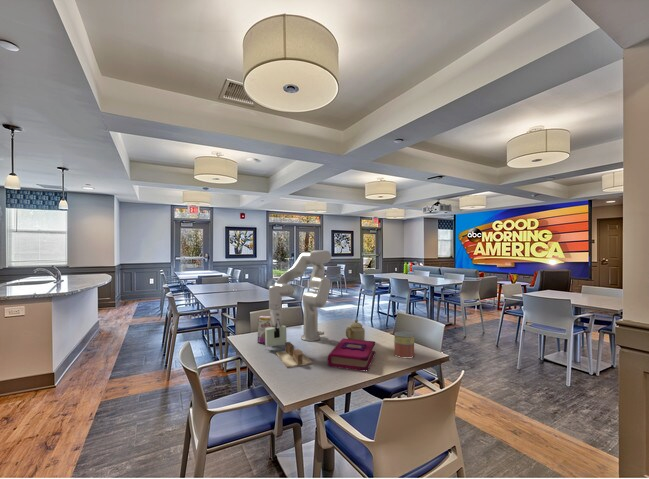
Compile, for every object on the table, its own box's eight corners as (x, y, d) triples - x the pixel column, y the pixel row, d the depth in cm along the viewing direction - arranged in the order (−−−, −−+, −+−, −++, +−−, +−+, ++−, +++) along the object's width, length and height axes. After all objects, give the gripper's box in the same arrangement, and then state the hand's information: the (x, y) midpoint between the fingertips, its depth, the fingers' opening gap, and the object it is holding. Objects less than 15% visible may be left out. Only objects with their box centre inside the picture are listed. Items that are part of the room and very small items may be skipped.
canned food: (396, 350, 182) (396, 330, 182) (415, 353, 177) (415, 332, 177) (392, 356, 172) (392, 335, 172) (412, 359, 167) (412, 338, 167)
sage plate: (284, 341, 186) (284, 325, 186) (286, 343, 182) (286, 327, 182) (265, 344, 181) (265, 328, 181) (266, 346, 177) (266, 329, 177)
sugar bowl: (362, 347, 187) (362, 322, 187) (345, 345, 190) (345, 321, 190) (365, 339, 201) (365, 317, 202) (349, 338, 204) (349, 316, 204)
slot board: (298, 350, 179) (298, 340, 180) (312, 363, 159) (312, 352, 160) (275, 353, 174) (276, 343, 174) (287, 367, 154) (287, 356, 154)
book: (327, 366, 157) (327, 352, 157) (340, 349, 183) (341, 336, 184) (367, 372, 150) (367, 357, 151) (375, 353, 177) (375, 340, 177)
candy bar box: (257, 343, 192) (257, 317, 192) (259, 340, 197) (260, 315, 197) (274, 344, 191) (274, 318, 191) (276, 341, 196) (276, 316, 196)
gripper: (285, 308, 175) (285, 339, 175) (277, 302, 190) (278, 331, 191) (272, 309, 172) (273, 341, 172) (266, 304, 187) (266, 333, 187)
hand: (275, 336), depth 181 cm, fingers closed on sage plate, 4 cm apart
